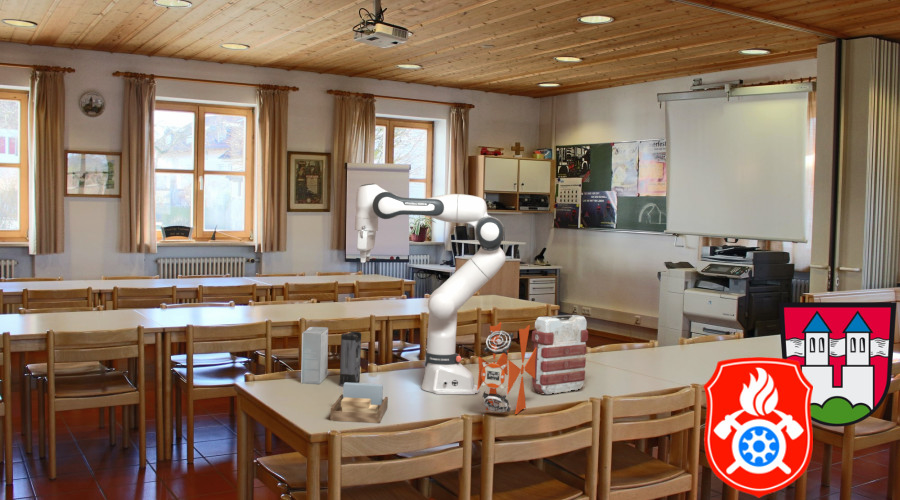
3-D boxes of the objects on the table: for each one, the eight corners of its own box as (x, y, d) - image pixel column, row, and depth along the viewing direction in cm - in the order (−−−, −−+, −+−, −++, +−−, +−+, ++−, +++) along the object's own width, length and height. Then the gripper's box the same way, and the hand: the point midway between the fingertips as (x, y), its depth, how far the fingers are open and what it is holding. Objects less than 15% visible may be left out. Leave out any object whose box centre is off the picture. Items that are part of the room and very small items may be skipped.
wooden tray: (387, 408, 273) (387, 396, 272) (379, 423, 253) (380, 410, 253) (341, 405, 273) (341, 394, 273) (330, 420, 254) (330, 408, 254)
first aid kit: (571, 386, 320) (574, 312, 318) (586, 390, 313) (589, 315, 312) (528, 392, 306) (532, 315, 305) (543, 396, 299) (546, 318, 298)
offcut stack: (378, 417, 262) (379, 399, 261) (376, 421, 257) (377, 402, 256) (339, 415, 262) (340, 397, 262) (336, 418, 257) (337, 400, 257)
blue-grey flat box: (381, 410, 270) (382, 384, 269) (380, 412, 267) (381, 386, 266) (344, 408, 270) (345, 382, 270) (342, 410, 267) (343, 384, 267)
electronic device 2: (475, 417, 265) (479, 328, 264) (506, 399, 293) (509, 319, 291) (506, 422, 261) (510, 332, 259) (534, 403, 288) (537, 321, 287)
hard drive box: (308, 375, 321) (310, 326, 320) (327, 376, 320) (329, 327, 319) (300, 383, 305) (301, 332, 304) (319, 384, 305) (321, 333, 304)
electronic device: (353, 387, 302) (354, 335, 301) (338, 386, 303) (340, 334, 302) (360, 382, 311) (362, 332, 310) (346, 381, 312) (348, 331, 311)
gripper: (370, 226, 293) (369, 263, 294) (378, 225, 314) (376, 260, 314) (353, 225, 294) (352, 263, 294) (362, 225, 314) (361, 259, 315)
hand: (365, 261), depth 305 cm, fingers open, 8 cm apart
